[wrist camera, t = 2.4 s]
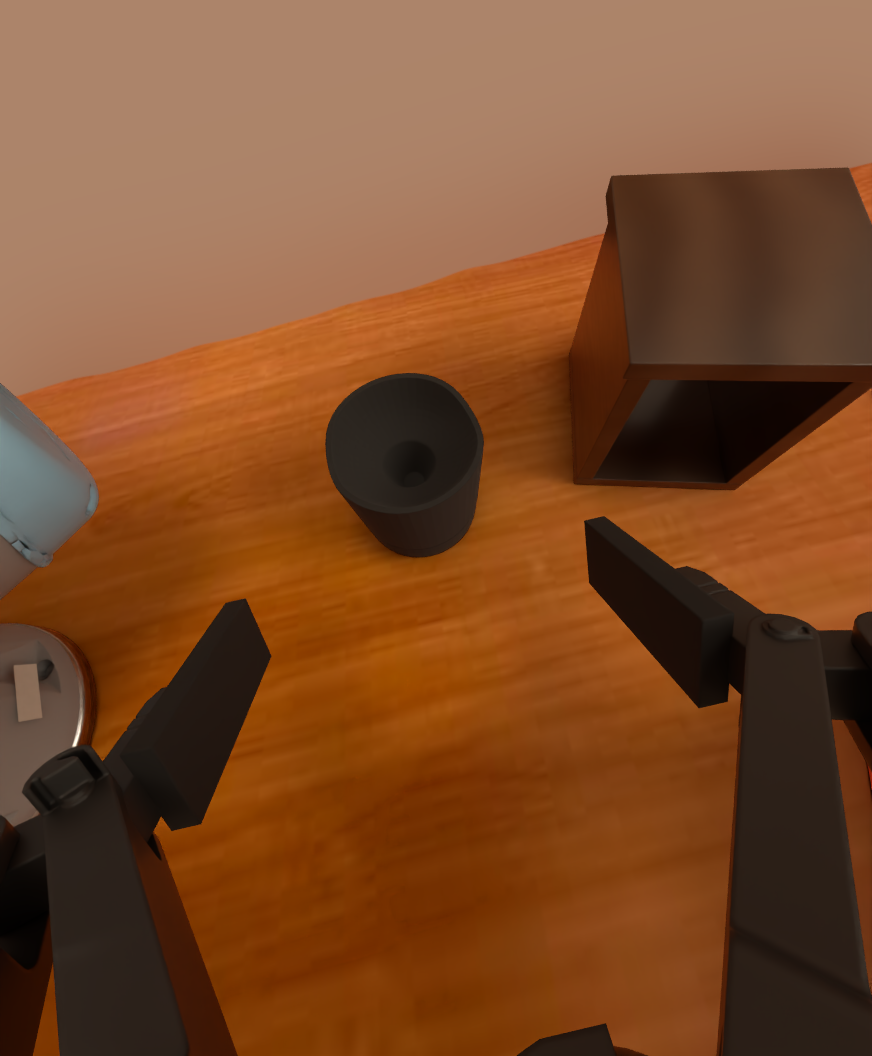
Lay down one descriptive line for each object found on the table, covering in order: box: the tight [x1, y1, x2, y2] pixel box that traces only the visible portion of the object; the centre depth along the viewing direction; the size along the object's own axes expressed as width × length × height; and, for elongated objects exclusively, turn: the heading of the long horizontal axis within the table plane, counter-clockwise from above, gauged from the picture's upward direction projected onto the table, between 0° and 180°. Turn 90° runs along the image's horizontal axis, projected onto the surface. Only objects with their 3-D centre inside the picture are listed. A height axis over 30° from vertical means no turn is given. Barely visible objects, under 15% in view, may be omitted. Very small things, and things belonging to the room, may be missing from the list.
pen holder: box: [325, 373, 484, 557], centre depth 29 cm, size 9×9×10 cm
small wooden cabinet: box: [569, 168, 872, 490], centre depth 29 cm, size 13×14×14 cm
